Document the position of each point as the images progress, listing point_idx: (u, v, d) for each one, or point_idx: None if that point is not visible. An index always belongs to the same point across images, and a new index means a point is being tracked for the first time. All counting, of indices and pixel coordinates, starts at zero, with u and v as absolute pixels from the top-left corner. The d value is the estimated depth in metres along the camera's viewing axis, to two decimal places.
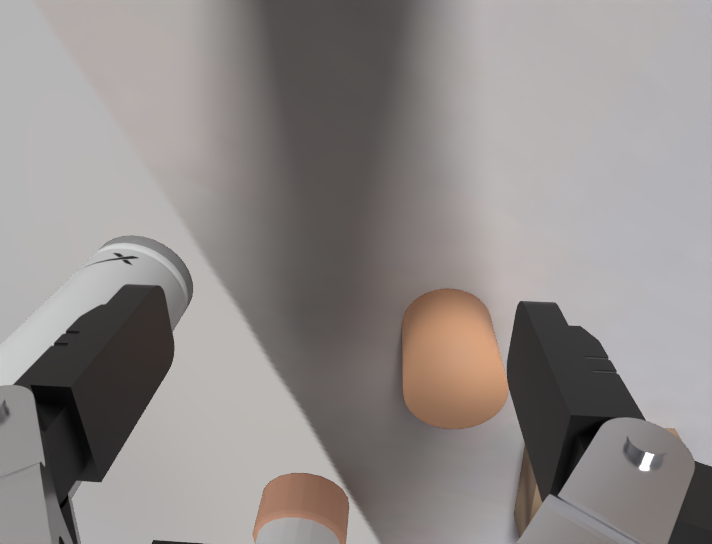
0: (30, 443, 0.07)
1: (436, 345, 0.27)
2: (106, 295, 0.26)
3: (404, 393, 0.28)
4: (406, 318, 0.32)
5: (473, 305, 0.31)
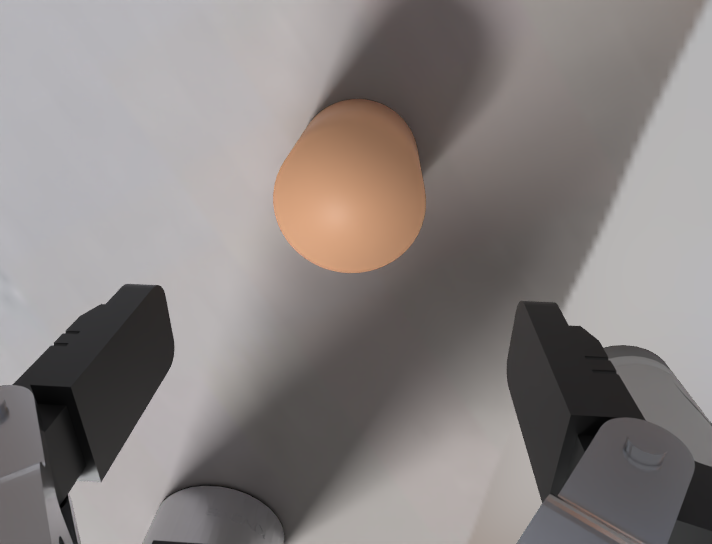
0: (30, 443, 0.07)
1: None
2: None
3: (413, 239, 0.20)
4: None
5: None
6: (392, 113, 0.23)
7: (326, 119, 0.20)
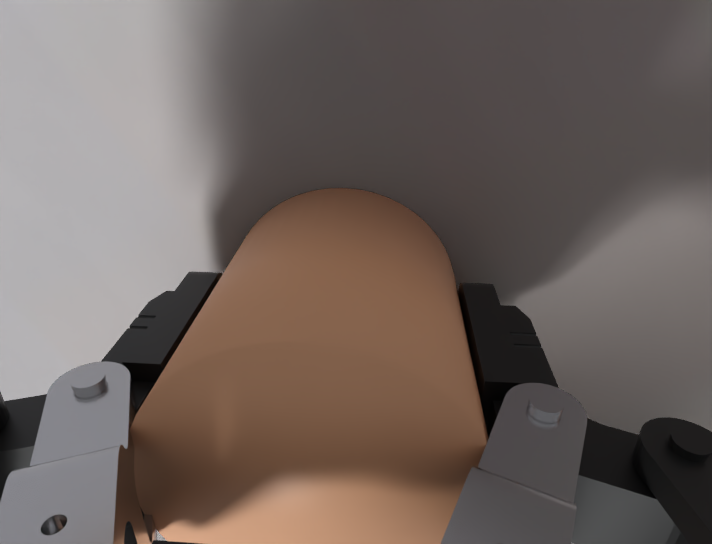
0: (119, 423, 0.08)
1: None
2: None
3: None
4: None
5: None
6: (409, 223, 0.11)
7: (263, 268, 0.09)
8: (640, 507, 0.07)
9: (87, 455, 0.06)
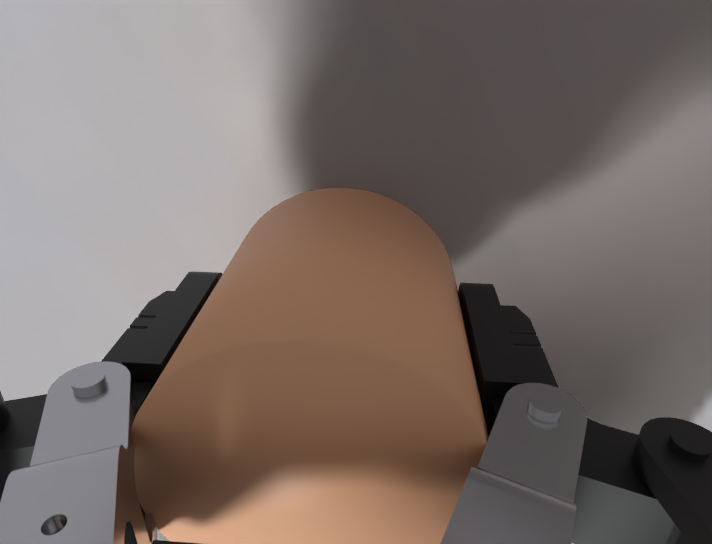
0: (119, 423, 0.08)
1: None
2: None
3: None
4: None
5: None
6: (410, 222, 0.11)
7: (263, 267, 0.09)
8: (640, 507, 0.07)
9: (87, 455, 0.06)
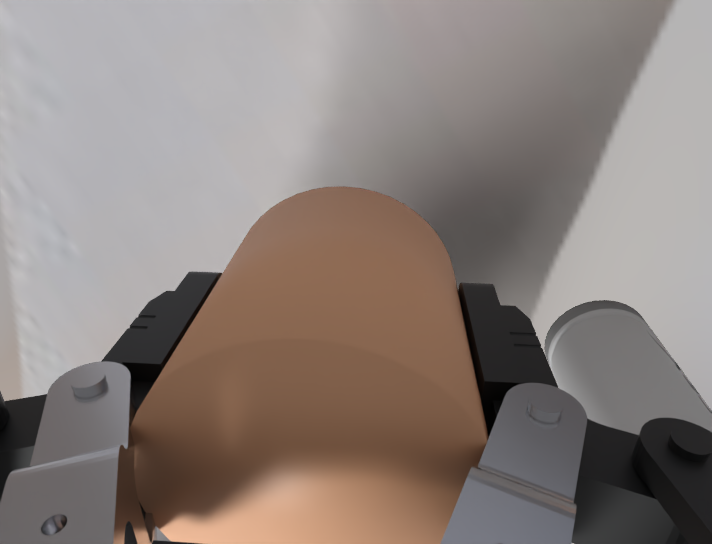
0: (119, 423, 0.08)
1: None
2: None
3: None
4: None
5: None
6: (410, 221, 0.11)
7: (264, 266, 0.09)
8: (640, 507, 0.07)
9: (87, 455, 0.06)
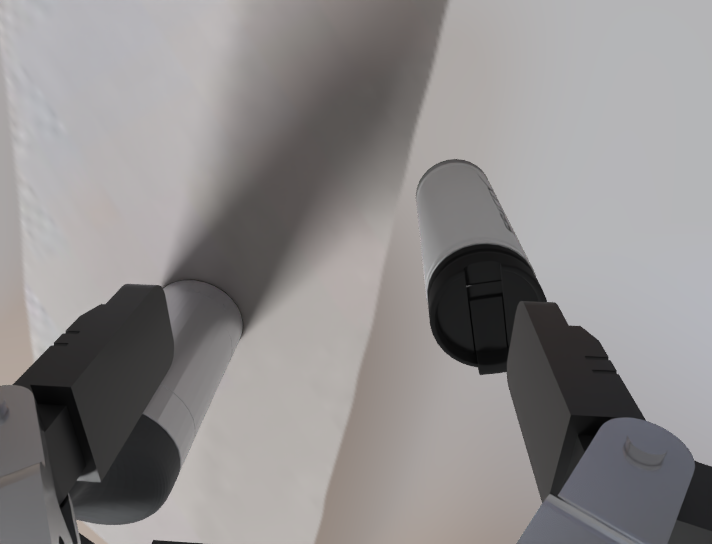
0: (30, 443, 0.07)
1: None
2: None
3: None
4: None
5: None
6: None
7: None
8: None
9: (4, 477, 0.06)
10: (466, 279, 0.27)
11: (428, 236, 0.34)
